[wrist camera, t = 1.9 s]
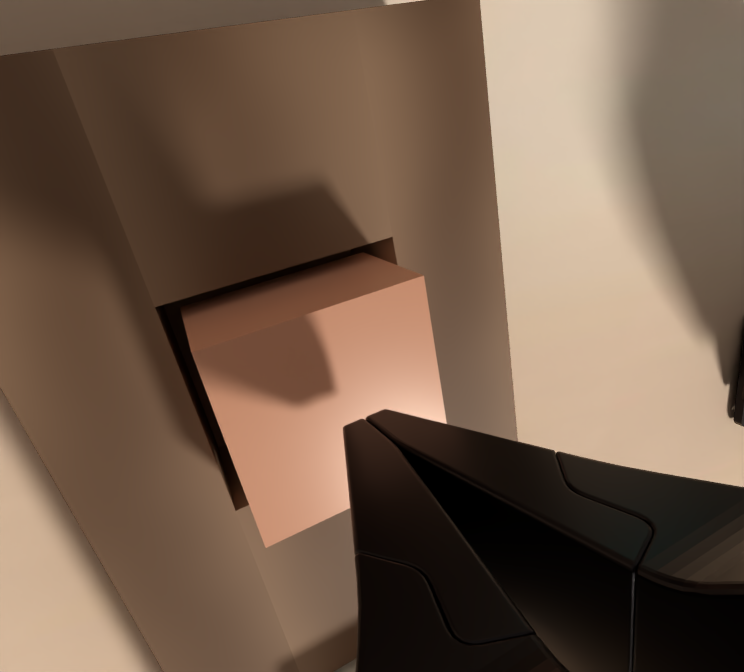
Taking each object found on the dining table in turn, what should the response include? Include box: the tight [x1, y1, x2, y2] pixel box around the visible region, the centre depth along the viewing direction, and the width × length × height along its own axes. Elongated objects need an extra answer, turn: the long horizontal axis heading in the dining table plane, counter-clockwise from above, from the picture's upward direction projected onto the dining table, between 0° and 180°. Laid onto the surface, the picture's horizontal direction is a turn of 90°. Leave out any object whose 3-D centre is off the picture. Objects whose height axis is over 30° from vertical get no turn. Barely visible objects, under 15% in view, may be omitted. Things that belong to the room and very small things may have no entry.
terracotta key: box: [180, 252, 447, 548], centre depth 11 cm, size 4×4×3 cm
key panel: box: [0, 0, 518, 672], centre depth 15 cm, size 11×26×4 cm, turn 12°
